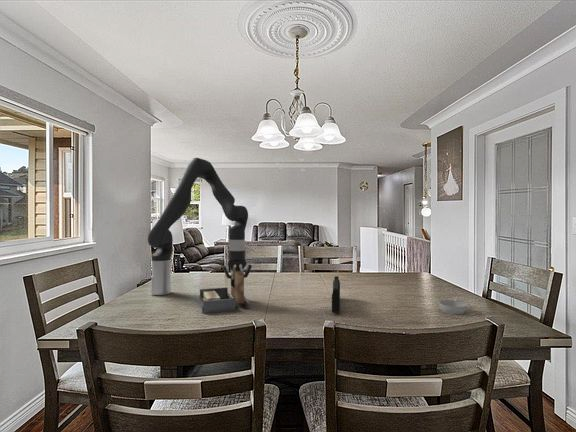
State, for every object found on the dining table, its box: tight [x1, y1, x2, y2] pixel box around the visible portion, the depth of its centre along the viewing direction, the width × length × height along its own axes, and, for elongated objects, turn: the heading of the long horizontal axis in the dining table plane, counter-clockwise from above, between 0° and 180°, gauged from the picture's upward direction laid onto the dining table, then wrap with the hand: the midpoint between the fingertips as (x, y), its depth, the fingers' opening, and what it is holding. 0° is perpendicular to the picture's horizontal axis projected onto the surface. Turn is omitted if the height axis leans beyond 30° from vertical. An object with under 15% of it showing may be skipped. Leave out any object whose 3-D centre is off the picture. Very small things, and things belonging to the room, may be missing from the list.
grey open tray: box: [198, 287, 251, 315], centre depth 164 cm, size 20×25×5 cm
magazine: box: [331, 275, 341, 314], centre depth 160 cm, size 17×3×30 cm
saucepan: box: [438, 296, 468, 315], centre depth 155 cm, size 11×18×4 cm, turn 148°
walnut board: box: [230, 270, 245, 304], centre depth 166 cm, size 3×18×13 cm, turn 17°
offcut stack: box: [202, 291, 220, 302], centre depth 163 cm, size 6×18×5 cm, turn 20°
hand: (237, 286), depth 166 cm, fingers closed on walnut board, 3 cm apart
